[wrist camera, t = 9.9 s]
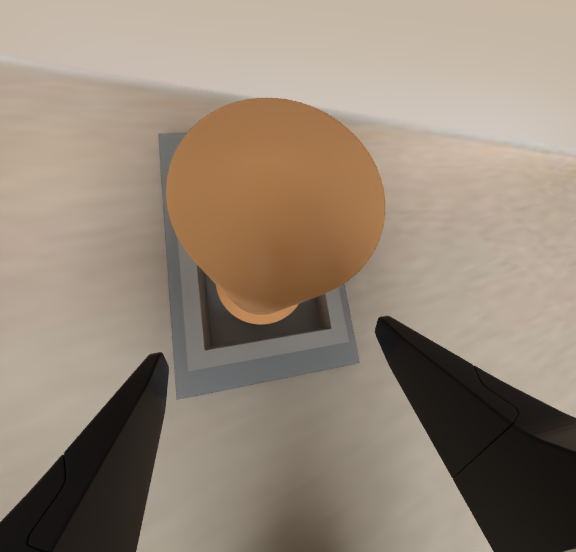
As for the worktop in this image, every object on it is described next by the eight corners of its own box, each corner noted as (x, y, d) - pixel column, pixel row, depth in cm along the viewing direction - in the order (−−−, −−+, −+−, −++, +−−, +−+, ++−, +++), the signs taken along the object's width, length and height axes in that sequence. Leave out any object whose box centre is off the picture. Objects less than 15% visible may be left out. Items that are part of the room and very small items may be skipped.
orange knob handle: (315, 293, 18) (456, 230, 6) (250, 341, 17) (246, 400, 4) (270, 231, 19) (309, 43, 6) (203, 273, 17) (73, 143, 5)
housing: (353, 360, 19) (376, 369, 15) (181, 394, 17) (162, 414, 13) (311, 141, 22) (322, 106, 19) (163, 144, 20) (144, 106, 16)
